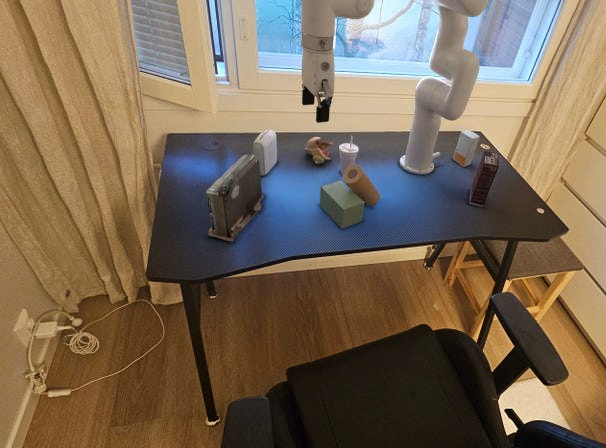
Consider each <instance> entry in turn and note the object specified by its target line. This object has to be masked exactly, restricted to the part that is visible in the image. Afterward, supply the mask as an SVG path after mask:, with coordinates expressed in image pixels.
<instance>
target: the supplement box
mask: <svg viewBox="0 0 606 448" xmlns="http://www.w3.org/2000/svg"><path fill="white" fill-rule="evenodd" d="M499 162H500V161H499V153H498V152H497V153H496V152H493V151H490V150H489V151H488V150H484V151H483V153H482V156H481V159H480V161H479V164H478V168H477V170H476V173H475V175H474V178H473V181H472V183H471V184H472V185H471V186H470V189H469V202H468V203H469V205H472V206H475V207H480V208H483V207H484V205H485V202H486V200H487V198H488V195H489V193H490V190H491V188H492V185H493V183H494V180H495V177H496V175H497V173H498V171H499V168H500V163H499Z"/></svg>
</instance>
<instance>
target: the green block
mask: <svg viewBox="0 0 606 448" xmlns="http://www.w3.org/2000/svg"><path fill="white" fill-rule="evenodd" d="M319 190H320V192H319V206H320V208H321V209H322V210H323V211H324V212H325V213H326V214H327V215H328V216H329V217H330V218H331V219H332V220H333V221H334V223H336V225H338V227H339V228H340V229H342V230H343V229H345V228H348V227H351V226H353V225H356V224H359V223H361V222H363V217H364V208H365V205H364V203H365V202H364V201H363V200H362V199H360V198H359V197H358V196H357V195H356V194H355V193H354V192H353V191H352V190H351V189H350V187H349V186H348V185H347V184H346V183H345V182H344V181H342V180H341V179H340V180H338V181H334V182H331V183H328V184H324V185H321V186H320V189H319Z"/></svg>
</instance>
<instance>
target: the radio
mask: <svg viewBox="0 0 606 448" xmlns="http://www.w3.org/2000/svg"><path fill="white" fill-rule="evenodd" d="M262 193H263V190H262V175H260V163H259V159H258V158H257V157H256V156H254V155H253V154H252V153H251V152H249V153H247V154H243V155H242V156H241V157H240V158H238V159H237V160H236V161H235V162H234V163H233V164H232V165H231V166H230V167H228V169H227V170H226V171H224V172H223V174H222V175H220V176H219V178H217V179H216V180H214V181H213V183H212V184H211V186H210V187H209V188H208V189H206V191H205V196H206V204H207V208H208V209H207V210H208V215H209V223H210V228H209V230H208V233H207V235H208V236H209V237H213V238H217V239H221V240H223V241H227V242H234V241H235V240H236V238H237V237H238V236H239V235H240V234H241V233H242V232H243V230H244V229H245V228H246V227H247V225H248V224H250V222H251V221H252V220H253V219H254V218H255V216H256V215H257V214H258V213H259V212H260V210H261V209H262V205H261V201H263V198H264V197H265V196H264V195H263V194H262Z"/></svg>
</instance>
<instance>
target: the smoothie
mask: <svg viewBox="0 0 606 448" xmlns="http://www.w3.org/2000/svg"><path fill="white" fill-rule="evenodd" d="M353 138H354V136H353V135H350V141H349V142H343V143H341V144H339V146H338V152H339V161H340V164H339V165H340V174H341V175H342V176H343V173H344V171H345V170H346V169H347V168H348V167H349V166H352V165H356V164H355V163H356V160H357V155H358V154H359V152H360V151H359V149H360V148H359V147H358V146H357V145H356V144H354V143H353V140H354V139H353Z"/></svg>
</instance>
